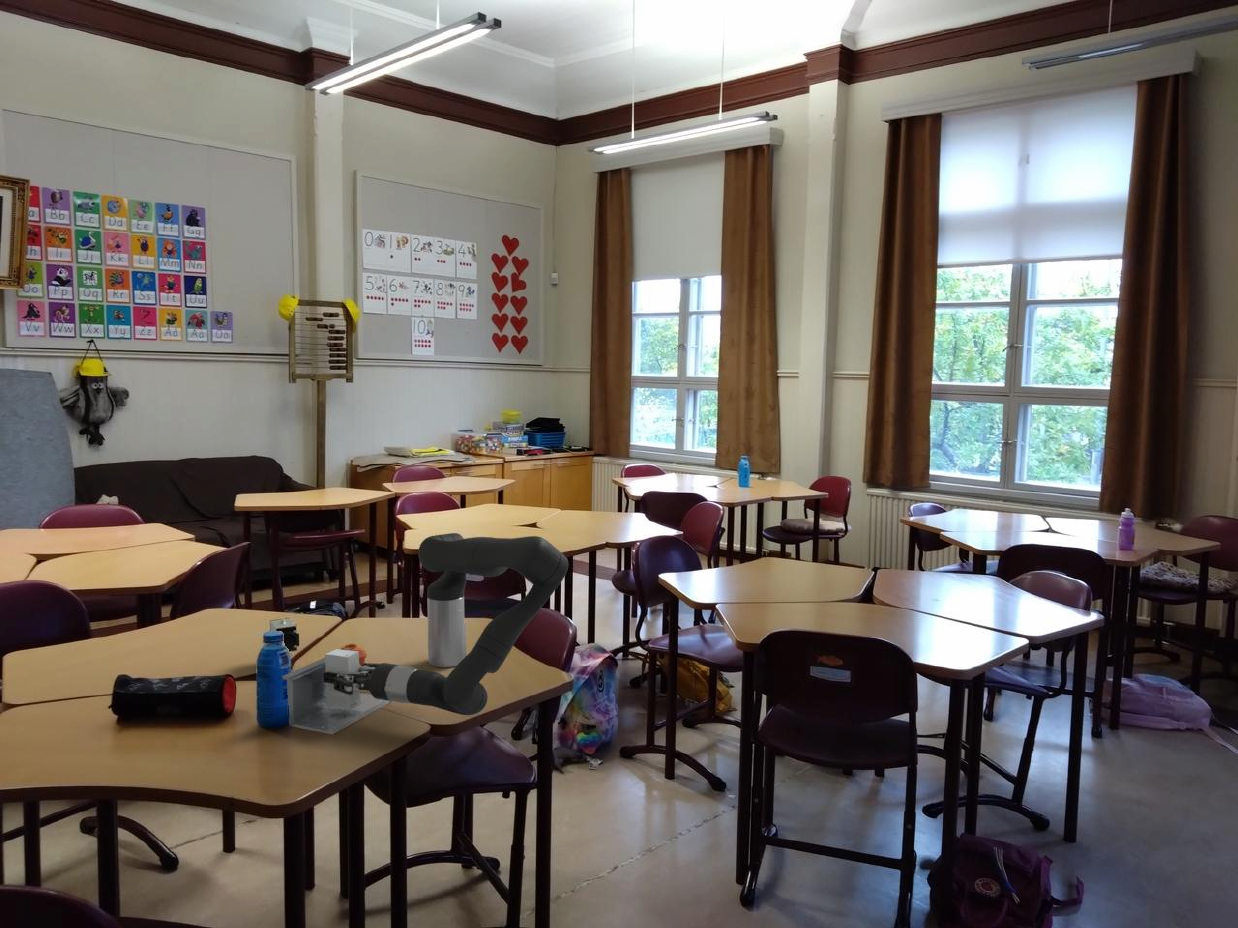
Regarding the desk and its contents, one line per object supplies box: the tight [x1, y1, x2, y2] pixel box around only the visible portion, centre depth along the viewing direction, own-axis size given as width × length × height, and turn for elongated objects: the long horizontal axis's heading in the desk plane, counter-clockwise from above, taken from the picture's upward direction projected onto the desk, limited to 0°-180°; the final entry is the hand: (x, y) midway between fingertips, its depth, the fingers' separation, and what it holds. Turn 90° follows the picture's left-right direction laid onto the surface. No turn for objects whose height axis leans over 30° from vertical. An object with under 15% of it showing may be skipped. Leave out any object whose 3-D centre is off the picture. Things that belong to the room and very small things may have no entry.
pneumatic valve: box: [269, 617, 300, 657], centre depth 223 cm, size 6×12×12 cm, turn 32°
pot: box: [340, 643, 368, 666], centre depth 221 cm, size 8×8×7 cm
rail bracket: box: [281, 649, 392, 735], centre depth 192 cm, size 20×13×11 cm, turn 158°
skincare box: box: [324, 648, 361, 710], centre depth 192 cm, size 6×4×12 cm
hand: (332, 673), depth 193 cm, fingers closed on skincare box, 4 cm apart
